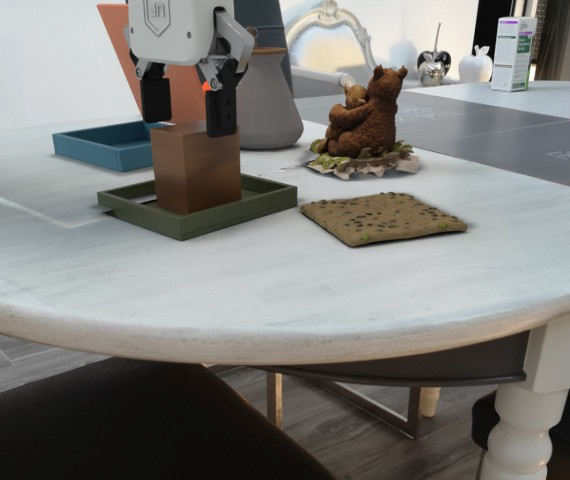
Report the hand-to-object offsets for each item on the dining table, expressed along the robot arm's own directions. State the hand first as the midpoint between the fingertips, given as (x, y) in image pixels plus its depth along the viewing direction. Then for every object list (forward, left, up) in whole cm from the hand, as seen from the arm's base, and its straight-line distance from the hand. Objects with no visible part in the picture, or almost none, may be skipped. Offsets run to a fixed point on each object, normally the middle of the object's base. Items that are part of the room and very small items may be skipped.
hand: (188, 128), depth 64 cm
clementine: (+38, +40, -8) cm, 56 cm away
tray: (0, 0, -8) cm, 8 cm away
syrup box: (+106, +21, -8) cm, 109 cm away
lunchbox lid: (+14, +24, +3) cm, 27 cm away
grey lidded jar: (+28, +20, -8) cm, 35 cm away
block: (0, 0, -7) cm, 7 cm away
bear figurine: (+26, 0, -8) cm, 28 cm away
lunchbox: (+9, +24, -8) cm, 27 cm away
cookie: (+9, -16, -8) cm, 20 cm away
